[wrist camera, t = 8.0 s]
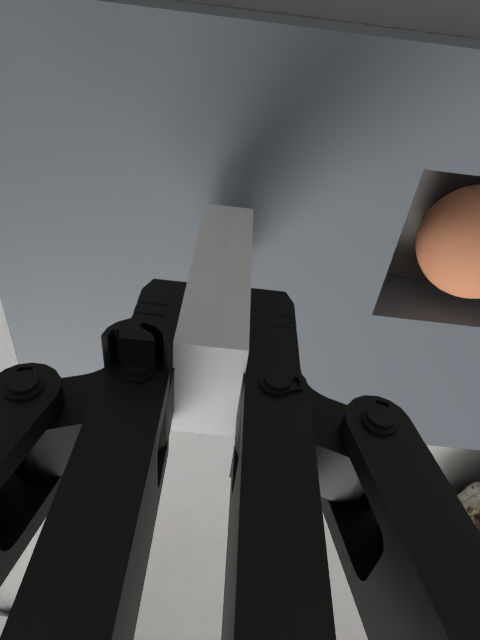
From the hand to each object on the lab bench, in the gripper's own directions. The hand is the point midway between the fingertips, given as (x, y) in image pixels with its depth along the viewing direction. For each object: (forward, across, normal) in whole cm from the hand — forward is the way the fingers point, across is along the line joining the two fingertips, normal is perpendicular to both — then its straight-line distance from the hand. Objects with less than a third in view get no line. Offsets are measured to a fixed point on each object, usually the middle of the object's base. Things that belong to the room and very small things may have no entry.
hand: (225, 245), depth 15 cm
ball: (+2, +9, 0) cm, 9 cm away
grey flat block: (+4, +4, -2) cm, 6 cm away
